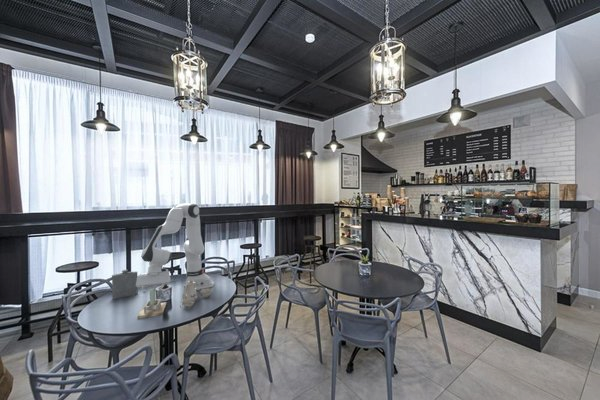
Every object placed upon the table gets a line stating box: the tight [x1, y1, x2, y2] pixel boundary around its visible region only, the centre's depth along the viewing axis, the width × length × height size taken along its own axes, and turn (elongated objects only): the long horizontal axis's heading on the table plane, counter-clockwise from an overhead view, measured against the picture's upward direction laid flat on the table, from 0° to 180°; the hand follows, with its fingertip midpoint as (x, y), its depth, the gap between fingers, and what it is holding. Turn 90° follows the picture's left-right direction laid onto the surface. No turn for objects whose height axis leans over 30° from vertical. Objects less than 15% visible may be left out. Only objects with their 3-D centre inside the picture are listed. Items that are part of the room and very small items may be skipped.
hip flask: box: [111, 269, 139, 300], centre depth 188 cm, size 16×4×20 cm, turn 121°
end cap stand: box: [137, 298, 167, 319], centre depth 163 cm, size 14×16×6 cm
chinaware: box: [179, 279, 212, 310], centre depth 177 cm, size 28×17×17 cm, turn 167°
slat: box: [148, 286, 157, 306], centre depth 163 cm, size 2×5×14 cm, turn 21°
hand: (152, 291), depth 162 cm, fingers open, 8 cm apart
